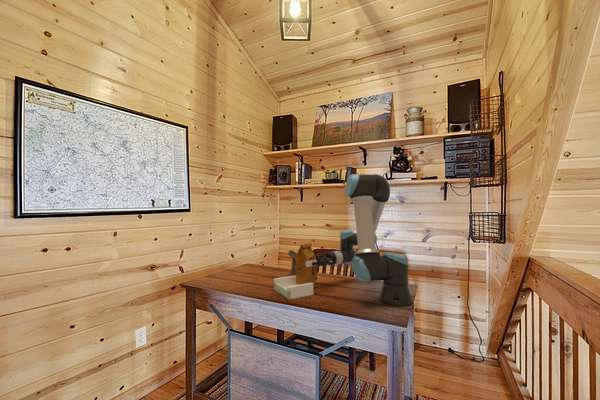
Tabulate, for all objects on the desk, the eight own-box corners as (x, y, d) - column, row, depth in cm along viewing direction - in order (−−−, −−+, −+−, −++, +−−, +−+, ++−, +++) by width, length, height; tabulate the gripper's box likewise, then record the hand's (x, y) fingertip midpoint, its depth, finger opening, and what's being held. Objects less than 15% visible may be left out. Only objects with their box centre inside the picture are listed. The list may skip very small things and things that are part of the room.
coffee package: (320, 281, 159) (319, 242, 159) (307, 287, 149) (307, 245, 149) (306, 278, 165) (305, 241, 165) (293, 284, 155) (292, 244, 155)
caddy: (313, 294, 147) (313, 283, 147) (288, 299, 140) (288, 287, 140) (297, 285, 163) (297, 275, 163) (273, 289, 156) (273, 278, 156)
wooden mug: (284, 277, 179) (284, 249, 179) (293, 272, 192) (293, 246, 192) (297, 279, 176) (297, 250, 176) (305, 273, 188) (305, 247, 188)
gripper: (345, 268, 155) (311, 273, 144) (322, 260, 175) (291, 264, 165) (345, 255, 155) (311, 259, 144) (322, 248, 175) (291, 251, 165)
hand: (300, 262), depth 155 cm, fingers closed on coffee package, 11 cm apart
